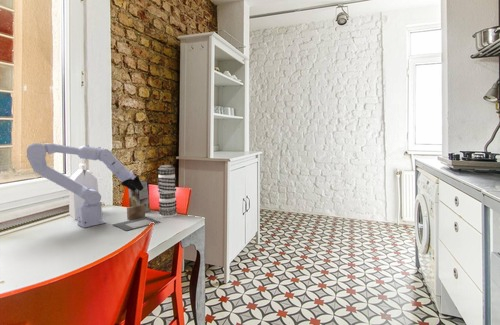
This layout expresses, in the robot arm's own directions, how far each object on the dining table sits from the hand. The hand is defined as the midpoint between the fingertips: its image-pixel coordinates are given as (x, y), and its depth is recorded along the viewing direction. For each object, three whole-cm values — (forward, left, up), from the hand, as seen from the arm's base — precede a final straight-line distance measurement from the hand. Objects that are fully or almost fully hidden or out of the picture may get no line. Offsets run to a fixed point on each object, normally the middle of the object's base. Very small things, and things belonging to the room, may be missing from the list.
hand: (138, 189), depth 144 cm
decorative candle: (+10, -9, -13) cm, 19 cm away
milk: (-17, +24, -14) cm, 32 cm away
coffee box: (+5, +10, -14) cm, 17 cm away
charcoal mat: (-7, -11, -13) cm, 19 cm away
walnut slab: (-3, -2, -13) cm, 14 cm away
